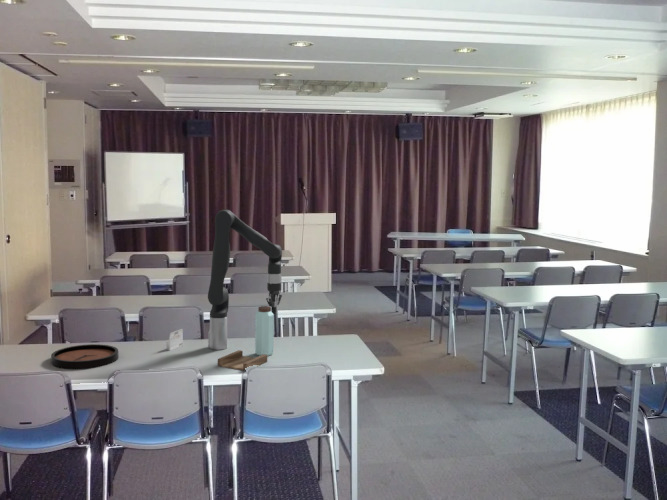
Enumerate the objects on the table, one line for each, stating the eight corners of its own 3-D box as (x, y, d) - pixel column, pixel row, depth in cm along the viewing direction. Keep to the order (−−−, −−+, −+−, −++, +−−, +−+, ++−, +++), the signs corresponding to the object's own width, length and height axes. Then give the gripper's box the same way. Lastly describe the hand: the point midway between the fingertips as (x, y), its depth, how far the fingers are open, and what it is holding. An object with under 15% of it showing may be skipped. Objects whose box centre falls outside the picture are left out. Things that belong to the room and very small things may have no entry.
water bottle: (270, 357, 324) (270, 309, 321) (252, 355, 325) (252, 308, 323) (276, 352, 333) (276, 306, 330) (258, 350, 335) (258, 305, 332)
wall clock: (98, 341, 334) (130, 352, 314) (98, 348, 335) (130, 360, 315) (39, 352, 311) (70, 365, 290) (39, 360, 311) (70, 374, 291)
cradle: (217, 365, 307) (217, 358, 307) (238, 356, 323) (238, 350, 323) (247, 371, 300) (247, 364, 299) (267, 361, 316) (267, 354, 315)
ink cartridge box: (166, 350, 333) (166, 332, 332) (179, 345, 343) (179, 328, 342) (169, 350, 332) (169, 332, 331) (183, 346, 342) (183, 328, 341)
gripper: (274, 279, 341) (274, 310, 343) (261, 282, 329) (261, 315, 331) (286, 280, 338) (286, 312, 340) (274, 284, 326) (273, 316, 328)
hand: (273, 313), depth 336 cm, fingers closed
